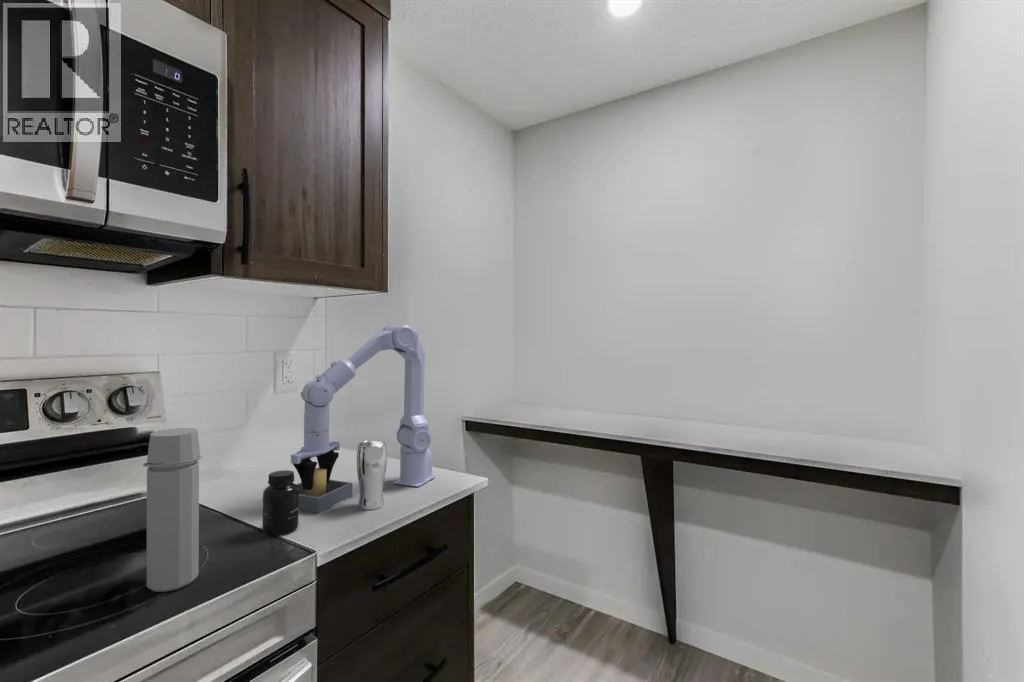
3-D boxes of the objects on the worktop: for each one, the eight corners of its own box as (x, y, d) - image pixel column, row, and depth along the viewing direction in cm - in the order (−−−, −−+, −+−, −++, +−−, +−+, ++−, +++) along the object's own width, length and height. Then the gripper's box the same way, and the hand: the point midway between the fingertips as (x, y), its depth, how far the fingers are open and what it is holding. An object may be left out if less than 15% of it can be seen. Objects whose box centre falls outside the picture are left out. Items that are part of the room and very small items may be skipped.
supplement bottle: (300, 533, 98) (300, 475, 98) (262, 539, 95) (263, 480, 95) (296, 521, 104) (297, 466, 104) (261, 527, 101) (262, 471, 101)
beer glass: (349, 507, 113) (350, 444, 113) (371, 498, 119) (371, 438, 119) (371, 513, 110) (372, 448, 109) (392, 503, 116) (393, 442, 115)
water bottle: (207, 581, 79) (208, 432, 78) (148, 601, 73) (149, 439, 73) (191, 562, 85) (192, 424, 85) (136, 579, 79) (137, 430, 79)
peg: (315, 495, 119) (316, 467, 119) (329, 497, 118) (330, 469, 118) (302, 500, 115) (303, 471, 115) (316, 502, 114) (318, 473, 114)
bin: (314, 490, 124) (314, 477, 124) (352, 496, 120) (352, 482, 120) (277, 506, 113) (277, 491, 113) (318, 513, 109) (318, 498, 109)
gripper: (324, 423, 124) (323, 475, 124) (280, 434, 110) (280, 492, 111) (346, 425, 122) (346, 478, 122) (304, 437, 108) (304, 496, 108)
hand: (316, 485), depth 116 cm, fingers open, 5 cm apart
